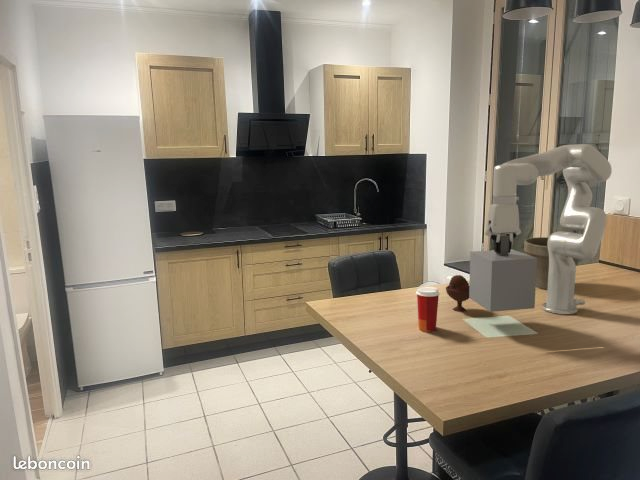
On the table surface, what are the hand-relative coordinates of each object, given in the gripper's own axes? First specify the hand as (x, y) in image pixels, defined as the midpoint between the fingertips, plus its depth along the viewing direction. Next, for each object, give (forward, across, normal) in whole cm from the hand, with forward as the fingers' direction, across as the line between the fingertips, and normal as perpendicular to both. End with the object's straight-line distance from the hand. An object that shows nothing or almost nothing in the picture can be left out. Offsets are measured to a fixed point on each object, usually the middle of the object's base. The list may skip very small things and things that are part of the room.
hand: (502, 251), depth 161 cm
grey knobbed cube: (+19, 0, 0) cm, 19 cm away
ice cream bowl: (+28, +6, -20) cm, 35 cm away
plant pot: (+29, -50, -44) cm, 72 cm away
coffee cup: (+28, +26, -3) cm, 39 cm away
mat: (+28, 0, 0) cm, 28 cm away
